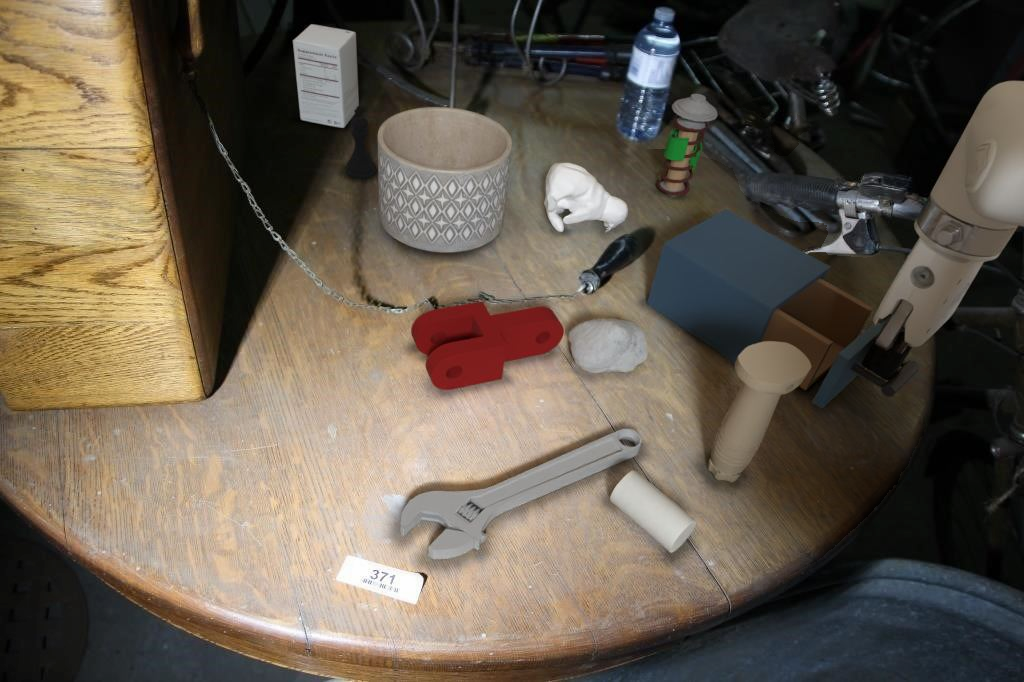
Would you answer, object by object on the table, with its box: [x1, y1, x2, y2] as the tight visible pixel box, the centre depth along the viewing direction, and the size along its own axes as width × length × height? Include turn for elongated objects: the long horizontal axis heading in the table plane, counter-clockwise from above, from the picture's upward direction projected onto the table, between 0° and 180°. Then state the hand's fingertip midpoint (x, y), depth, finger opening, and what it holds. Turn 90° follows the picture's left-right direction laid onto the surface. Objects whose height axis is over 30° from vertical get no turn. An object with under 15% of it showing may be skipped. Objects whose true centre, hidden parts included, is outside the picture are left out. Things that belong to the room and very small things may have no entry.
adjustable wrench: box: [399, 428, 643, 560], centre depth 69 cm, size 25×6×2 cm, turn 117°
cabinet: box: [646, 208, 831, 364], centre depth 89 cm, size 15×13×9 cm
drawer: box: [761, 278, 920, 409], centre depth 83 cm, size 18×11×7 cm, turn 43°
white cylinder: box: [609, 470, 698, 554], centre depth 67 cm, size 7×4×4 cm, turn 43°
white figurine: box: [543, 162, 629, 233], centre depth 101 cm, size 6×8×12 cm
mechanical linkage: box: [410, 300, 565, 391], centre depth 81 cm, size 16×7×5 cm, turn 112°
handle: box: [707, 341, 811, 483], centre depth 69 cm, size 5×6×15 cm
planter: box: [377, 106, 513, 254], centre depth 96 cm, size 16×16×13 cm
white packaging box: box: [292, 23, 360, 129], centre depth 116 cm, size 7×7×13 cm
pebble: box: [567, 317, 649, 374], centre depth 83 cm, size 9×8×5 cm
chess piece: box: [344, 105, 378, 180], centre depth 105 cm, size 4×4×10 cm
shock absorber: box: [656, 93, 719, 197], centre depth 108 cm, size 6×6×15 cm
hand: (877, 369), depth 80 cm, fingers closed
